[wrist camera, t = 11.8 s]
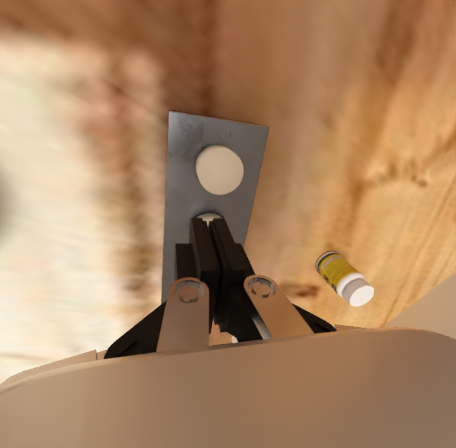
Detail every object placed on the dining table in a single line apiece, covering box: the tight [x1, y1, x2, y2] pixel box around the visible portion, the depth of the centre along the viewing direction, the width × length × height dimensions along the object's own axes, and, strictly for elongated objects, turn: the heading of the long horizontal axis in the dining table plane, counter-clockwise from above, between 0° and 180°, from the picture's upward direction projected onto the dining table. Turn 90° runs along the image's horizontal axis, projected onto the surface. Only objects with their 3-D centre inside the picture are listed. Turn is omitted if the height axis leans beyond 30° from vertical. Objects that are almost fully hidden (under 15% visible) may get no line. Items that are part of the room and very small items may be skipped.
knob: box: [196, 145, 244, 195], centre depth 25 cm, size 4×4×6 cm
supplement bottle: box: [316, 251, 374, 307], centre depth 37 cm, size 5×5×8 cm
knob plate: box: [161, 110, 269, 304], centre depth 30 cm, size 24×10×4 cm, turn 171°
